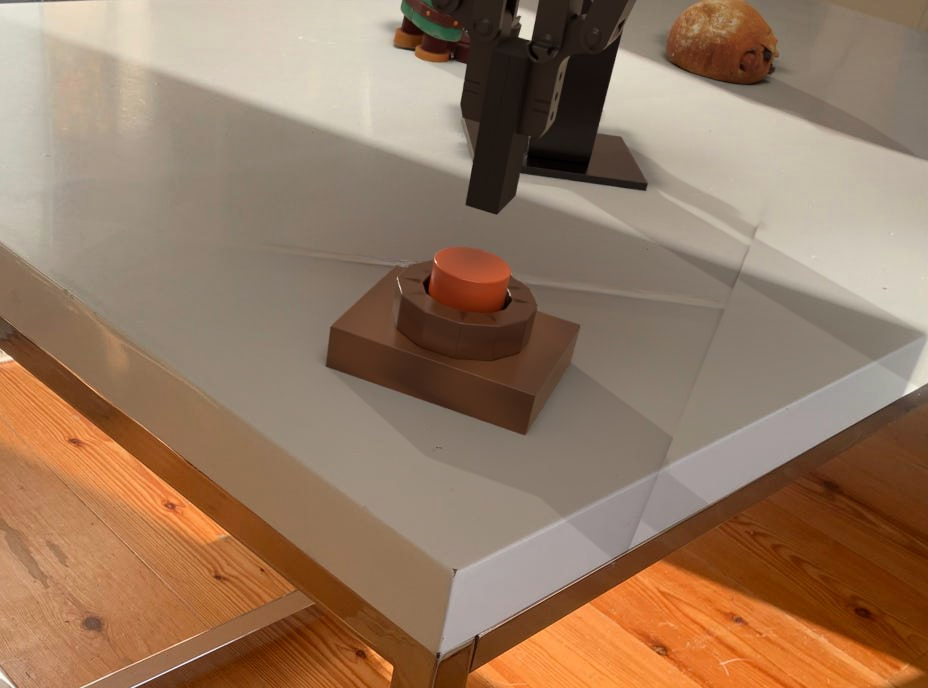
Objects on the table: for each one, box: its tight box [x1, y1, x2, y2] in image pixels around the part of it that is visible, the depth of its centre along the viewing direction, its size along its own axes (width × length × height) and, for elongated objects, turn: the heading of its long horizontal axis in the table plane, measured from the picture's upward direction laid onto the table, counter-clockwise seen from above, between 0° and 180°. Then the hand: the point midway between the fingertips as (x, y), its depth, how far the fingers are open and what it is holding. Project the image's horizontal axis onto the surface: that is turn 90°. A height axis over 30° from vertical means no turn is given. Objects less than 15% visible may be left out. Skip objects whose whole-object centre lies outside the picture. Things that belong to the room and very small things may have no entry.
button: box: [428, 246, 512, 313], centre depth 52 cm, size 4×4×2 cm
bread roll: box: [665, 0, 780, 85], centre depth 107 cm, size 10×10×8 cm
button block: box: [325, 259, 581, 436], centre depth 54 cm, size 10×8×4 cm
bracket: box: [461, 0, 649, 192], centre depth 75 cm, size 12×9×14 cm
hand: (490, 199), depth 50 cm, fingers closed
